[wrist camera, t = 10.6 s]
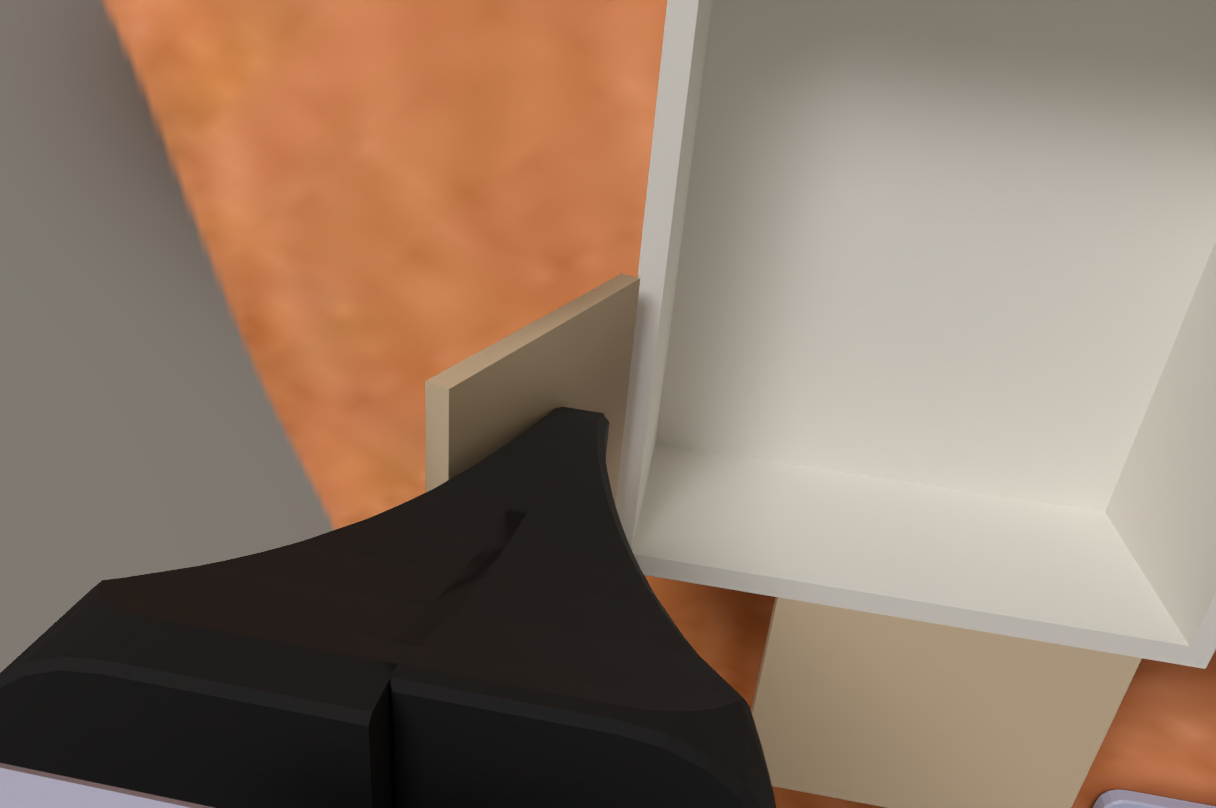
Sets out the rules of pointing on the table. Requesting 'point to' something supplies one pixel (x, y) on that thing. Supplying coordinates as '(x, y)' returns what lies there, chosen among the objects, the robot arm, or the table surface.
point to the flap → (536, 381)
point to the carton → (934, 373)
